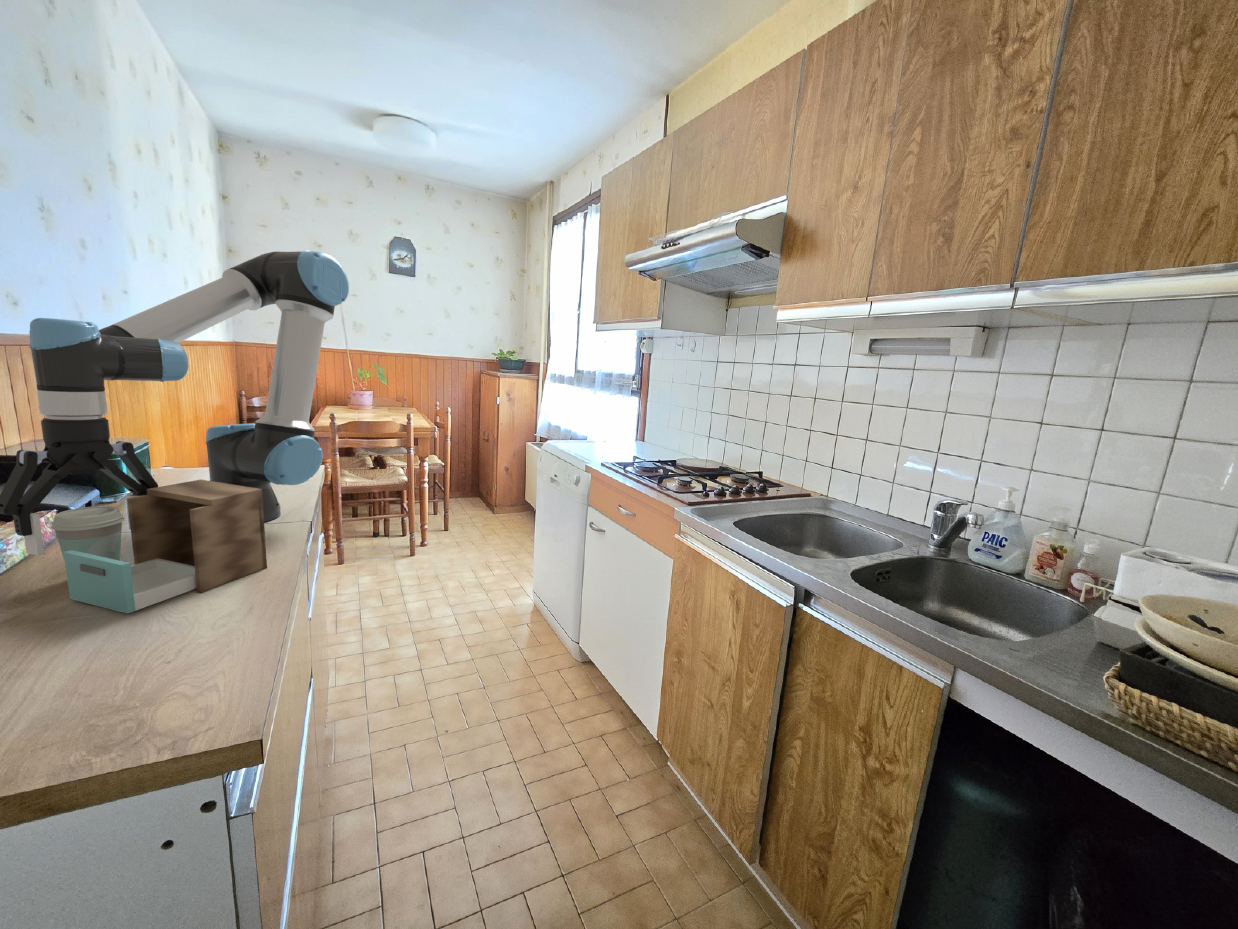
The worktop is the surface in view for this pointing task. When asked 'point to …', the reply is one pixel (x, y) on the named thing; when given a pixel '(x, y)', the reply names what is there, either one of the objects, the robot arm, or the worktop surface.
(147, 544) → the cubby
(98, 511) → the coffee cup
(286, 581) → the worktop surface
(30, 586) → the worktop surface
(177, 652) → the worktop surface
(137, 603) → the teal drawer
